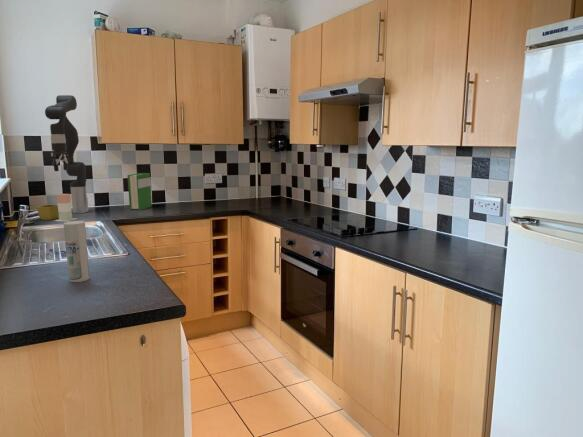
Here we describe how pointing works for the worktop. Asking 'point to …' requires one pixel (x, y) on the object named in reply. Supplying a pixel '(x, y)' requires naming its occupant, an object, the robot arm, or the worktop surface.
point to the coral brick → (63, 198)
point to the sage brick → (65, 215)
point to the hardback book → (139, 191)
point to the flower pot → (48, 212)
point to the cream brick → (64, 207)
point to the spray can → (76, 251)
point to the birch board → (66, 220)
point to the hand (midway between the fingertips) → (61, 170)
